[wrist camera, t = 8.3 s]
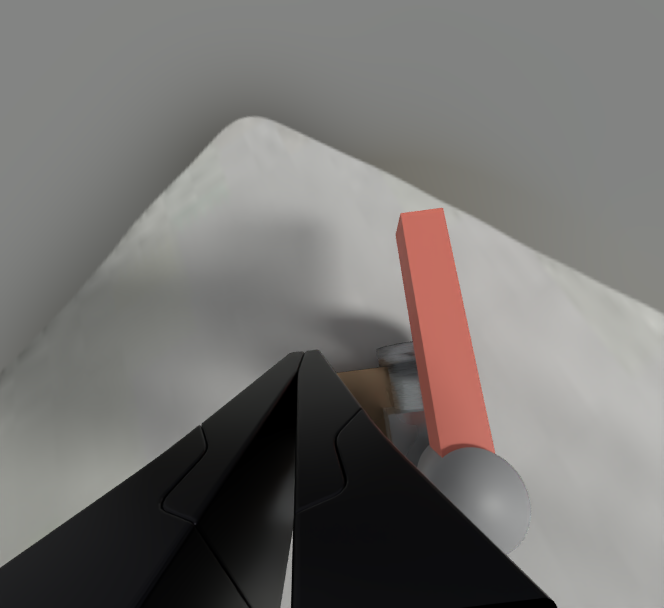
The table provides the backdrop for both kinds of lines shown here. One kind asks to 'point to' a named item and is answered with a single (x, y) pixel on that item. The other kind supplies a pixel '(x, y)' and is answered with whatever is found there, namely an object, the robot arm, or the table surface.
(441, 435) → the lever
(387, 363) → the valve
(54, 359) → the table surface
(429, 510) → the robot arm
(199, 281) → the table surface
